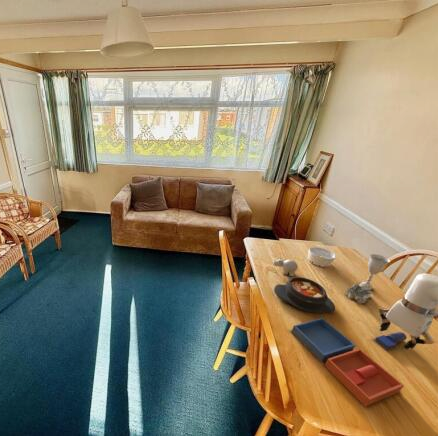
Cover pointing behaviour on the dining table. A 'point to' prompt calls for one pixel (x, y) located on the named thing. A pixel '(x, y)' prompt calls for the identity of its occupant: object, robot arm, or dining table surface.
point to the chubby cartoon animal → (287, 266)
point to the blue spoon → (390, 339)
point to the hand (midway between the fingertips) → (395, 338)
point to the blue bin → (322, 339)
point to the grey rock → (358, 293)
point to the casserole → (305, 295)
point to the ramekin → (320, 260)
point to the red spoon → (362, 374)
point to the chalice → (374, 268)
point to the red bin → (373, 386)
